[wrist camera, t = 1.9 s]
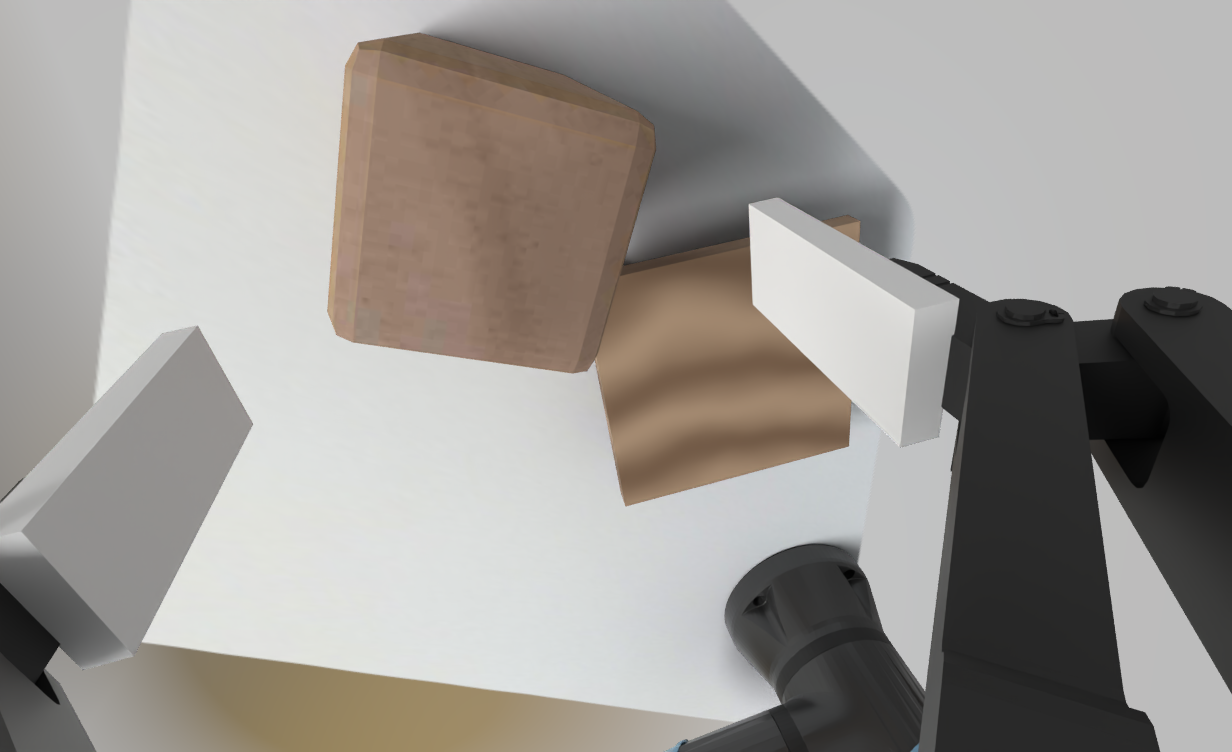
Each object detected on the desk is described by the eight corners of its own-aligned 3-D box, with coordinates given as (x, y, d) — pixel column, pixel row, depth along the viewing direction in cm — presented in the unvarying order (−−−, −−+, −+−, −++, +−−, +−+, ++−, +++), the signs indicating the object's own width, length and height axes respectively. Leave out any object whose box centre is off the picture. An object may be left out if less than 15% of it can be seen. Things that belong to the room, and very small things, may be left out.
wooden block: (576, 78, 37) (673, 122, 20) (541, 238, 42) (596, 386, 25) (402, 27, 34) (342, 28, 17) (383, 205, 38) (320, 349, 21)
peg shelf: (811, 406, 54) (848, 446, 48) (609, 458, 52) (625, 506, 47) (814, 198, 44) (860, 221, 39) (567, 253, 42) (582, 284, 37)
